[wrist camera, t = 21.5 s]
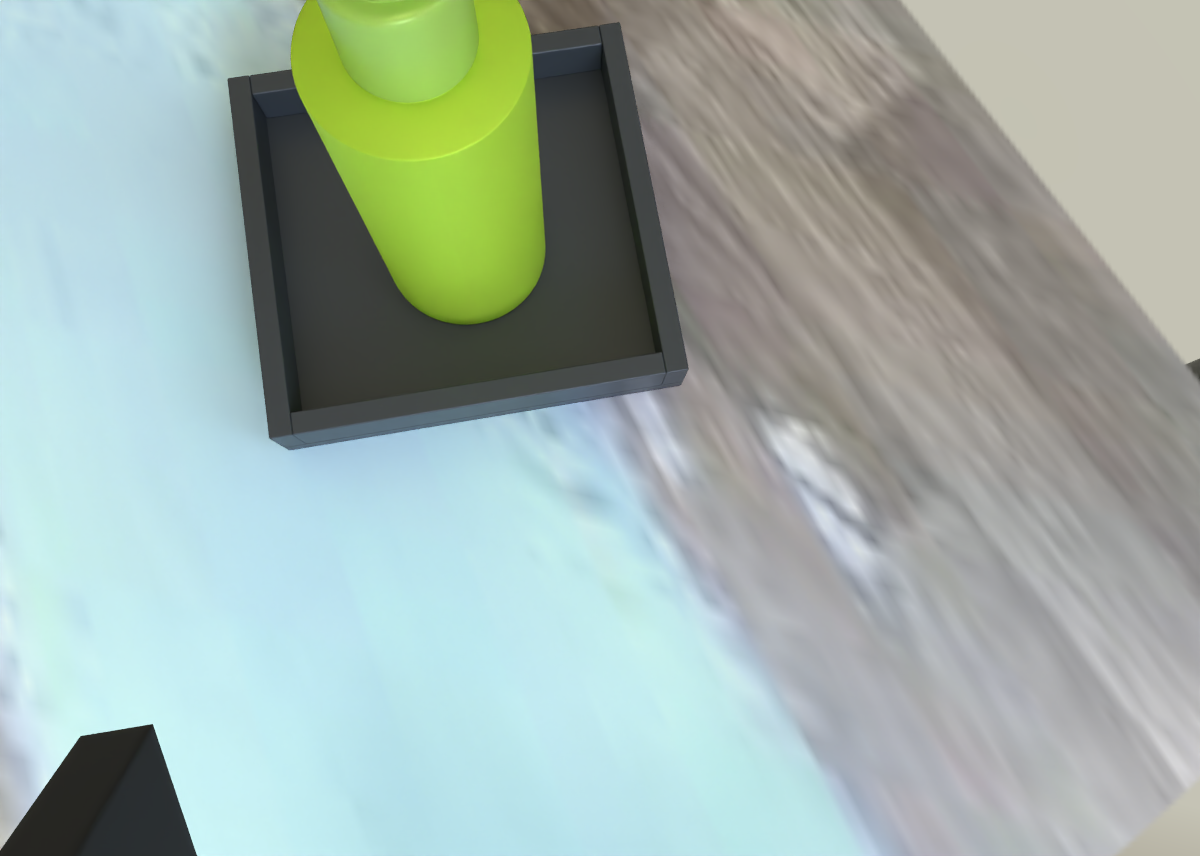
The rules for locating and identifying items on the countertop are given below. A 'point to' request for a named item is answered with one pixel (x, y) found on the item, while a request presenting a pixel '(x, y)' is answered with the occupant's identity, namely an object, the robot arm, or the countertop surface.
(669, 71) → the countertop surface
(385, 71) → the soap dispenser
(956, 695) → the countertop surface
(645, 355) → the tray
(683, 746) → the countertop surface
